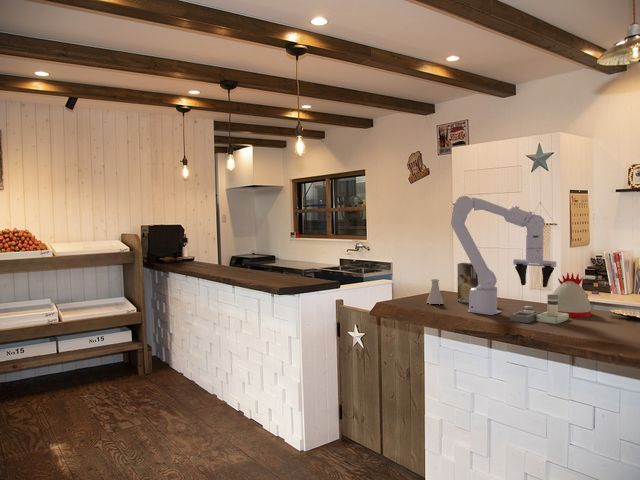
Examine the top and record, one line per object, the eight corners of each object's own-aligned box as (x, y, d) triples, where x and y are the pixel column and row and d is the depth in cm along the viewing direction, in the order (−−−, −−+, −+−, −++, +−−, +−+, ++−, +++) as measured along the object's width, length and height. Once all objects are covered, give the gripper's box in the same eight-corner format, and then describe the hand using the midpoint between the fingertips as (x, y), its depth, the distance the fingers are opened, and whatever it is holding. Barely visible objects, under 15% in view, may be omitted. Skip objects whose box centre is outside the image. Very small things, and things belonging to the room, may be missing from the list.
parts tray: (536, 320, 168) (536, 315, 168) (547, 316, 175) (547, 311, 175) (557, 324, 163) (557, 318, 163) (568, 319, 170) (568, 313, 170)
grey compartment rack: (510, 320, 169) (510, 308, 169) (524, 315, 177) (524, 304, 177) (527, 323, 165) (527, 310, 165) (541, 318, 173) (541, 306, 172)
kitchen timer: (589, 318, 172) (590, 275, 171) (546, 314, 179) (546, 273, 179) (591, 312, 184) (592, 271, 183) (551, 308, 191) (551, 269, 190)
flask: (424, 302, 207) (424, 278, 206) (442, 302, 206) (442, 278, 206) (427, 305, 199) (427, 280, 199) (445, 305, 199) (446, 280, 199)
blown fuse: (545, 318, 170) (545, 295, 169) (549, 317, 172) (550, 294, 171) (555, 319, 167) (555, 296, 167) (559, 318, 169) (559, 295, 169)
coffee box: (484, 302, 206) (484, 263, 206) (478, 304, 201) (478, 264, 201) (463, 299, 212) (463, 262, 211) (456, 301, 207) (456, 263, 207)
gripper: (509, 247, 180) (509, 285, 181) (550, 249, 170) (550, 289, 171) (518, 247, 185) (517, 283, 186) (558, 248, 175) (558, 287, 175)
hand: (534, 286), depth 179 cm, fingers open, 7 cm apart
